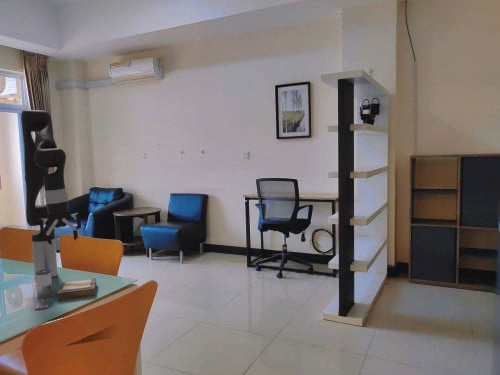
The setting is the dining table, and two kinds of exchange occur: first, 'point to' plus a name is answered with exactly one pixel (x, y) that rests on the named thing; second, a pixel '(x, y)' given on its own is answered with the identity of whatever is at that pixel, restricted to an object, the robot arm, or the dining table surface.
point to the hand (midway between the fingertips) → (63, 242)
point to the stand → (77, 289)
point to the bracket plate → (42, 305)
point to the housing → (44, 283)
